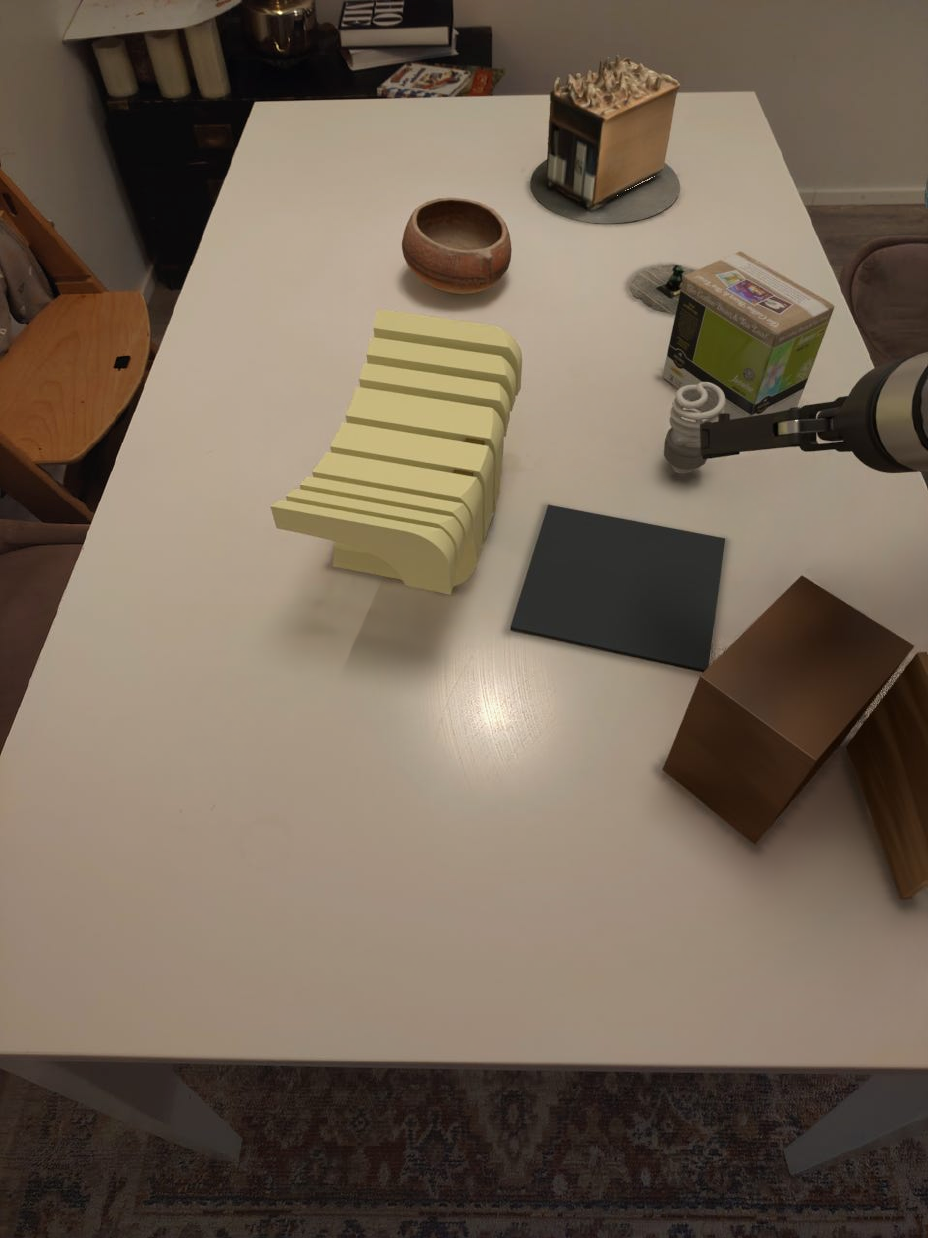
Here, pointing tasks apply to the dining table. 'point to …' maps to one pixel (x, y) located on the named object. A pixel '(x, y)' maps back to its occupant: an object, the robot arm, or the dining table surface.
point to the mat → (623, 587)
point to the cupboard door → (898, 774)
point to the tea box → (746, 335)
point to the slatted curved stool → (415, 453)
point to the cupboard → (780, 705)
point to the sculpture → (660, 286)
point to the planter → (609, 145)
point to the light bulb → (691, 424)
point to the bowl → (457, 245)
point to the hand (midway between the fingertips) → (780, 438)
